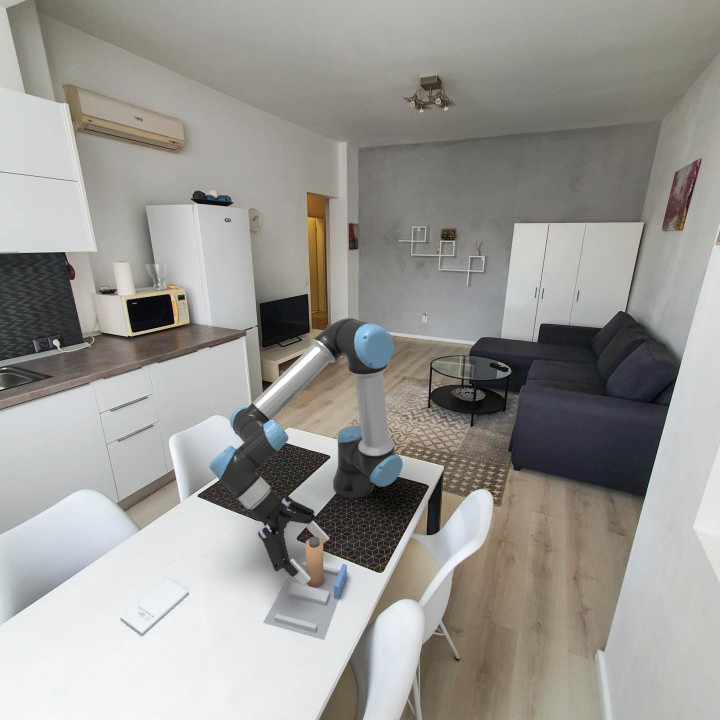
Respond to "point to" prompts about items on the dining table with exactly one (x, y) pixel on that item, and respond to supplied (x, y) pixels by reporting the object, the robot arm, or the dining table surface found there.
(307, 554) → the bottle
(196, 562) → the dining table surface
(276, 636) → the dining table surface
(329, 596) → the gray ribbed plate
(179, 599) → the external hard drive
